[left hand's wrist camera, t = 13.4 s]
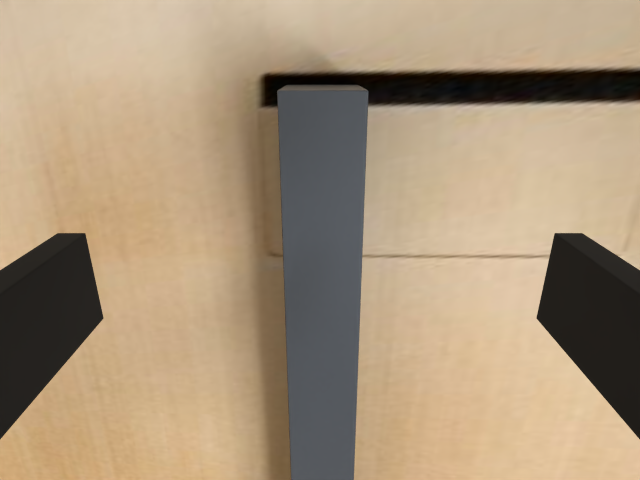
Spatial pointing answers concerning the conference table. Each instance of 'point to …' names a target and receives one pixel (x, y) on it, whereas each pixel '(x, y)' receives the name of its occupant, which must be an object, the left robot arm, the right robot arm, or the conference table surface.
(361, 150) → the post
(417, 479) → the conference table surface
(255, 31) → the conference table surface
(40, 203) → the conference table surface
